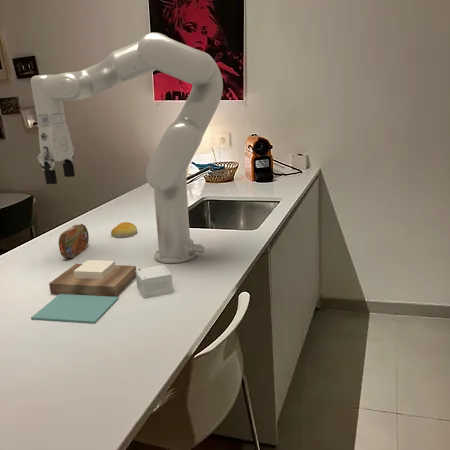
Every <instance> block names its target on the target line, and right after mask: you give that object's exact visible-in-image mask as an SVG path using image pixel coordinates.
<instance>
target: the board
mask: <svg viewBox="0 0 450 450" xmlns="http://www.w3.org/2000/svg"><path fill="white" fill-rule="evenodd" d="M82 264H83V263H75V264H74V265H72V266H71V267H69V268H68V269H66V270H65V271H63V273H61V274H60V275H58V276H57V277H56V278H54V279H53V280H52V281H50V282H49V283H48V286H49V291H50V292H49V293H50V295H57V296H58V295H59V294H72V295H91V296H110V297H119V295H120V294H121V293H122V292H123V291H124V290H125V289H126V288H127V287H128V286H129V285H130V284H131V282H132V281H134V280H136V270H137V265H125V264H124V265H122V264H119V265H118V264H115V266H116V268H115V269H114V270H113V271H112V272H111V273H110V274H108V275H107V276H106V277H105V278H104V279H81V278H74V270H76V269H77V268H78V267H79V266H81V265H82Z"/></svg>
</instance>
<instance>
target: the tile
mask: <svg viewBox="0 0 450 450" xmlns="http://www.w3.org/2000/svg"><path fill="white" fill-rule="evenodd" d="M81 264H82V265H81V266H79V267H78V268H77V269H76V270H74V278H81V279H104V278H105V277H106V276H107V275H108V274H110V273H111V272H112V271H113V270H114V269H115V268H116V266H115V265H116V260H100V259H99V260H92V259H87V260H85V262H83V263H81Z"/></svg>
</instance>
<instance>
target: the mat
mask: <svg viewBox="0 0 450 450" xmlns="http://www.w3.org/2000/svg"><path fill="white" fill-rule="evenodd" d="M118 300H119V296H117V297H110V296H91V295H72V294H59V295H57V296H55V297H54V298H53V299H52V300H50V302H48V303H46V305H44V307H42V308H41V309H39V310H38V311H37V312H36V313H34V314H33V315H32V316H31V320H35V321H50V322H51V321H53V322H64V323H65V322H66V323H80V324H81V323H82V324H96V323H97V322H98V321H99V320H100V319H101V318H102V317H103V316H104V315H105V314H106V313H107V311H108V310H109V309H111V308H112V306H114V304H116V302H118Z"/></svg>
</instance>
